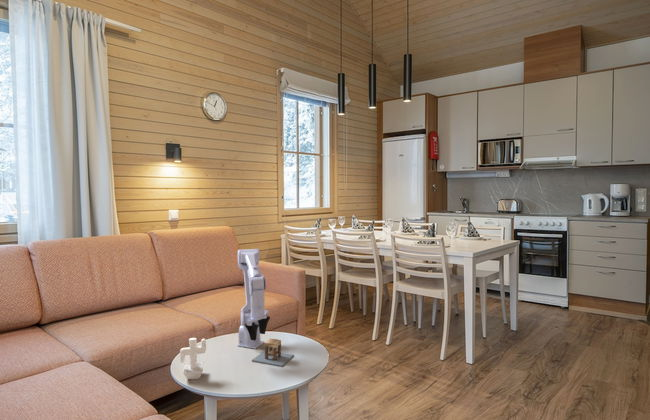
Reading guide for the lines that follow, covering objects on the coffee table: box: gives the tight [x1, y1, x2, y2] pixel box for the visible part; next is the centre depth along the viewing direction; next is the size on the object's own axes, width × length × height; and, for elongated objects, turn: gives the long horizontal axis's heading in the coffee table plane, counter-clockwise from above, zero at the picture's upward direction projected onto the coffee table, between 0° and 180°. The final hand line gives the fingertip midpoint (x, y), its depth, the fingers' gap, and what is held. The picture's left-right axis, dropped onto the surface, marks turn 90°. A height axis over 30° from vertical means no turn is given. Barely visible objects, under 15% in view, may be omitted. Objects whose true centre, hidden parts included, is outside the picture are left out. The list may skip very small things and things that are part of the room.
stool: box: [264, 338, 282, 361], centre depth 176 cm, size 5×5×7 cm
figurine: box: [179, 337, 207, 380], centre depth 160 cm, size 7×9×15 cm
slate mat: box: [251, 349, 295, 368], centre depth 176 cm, size 14×11×1 cm
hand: (258, 336), depth 176 cm, fingers open, 7 cm apart
